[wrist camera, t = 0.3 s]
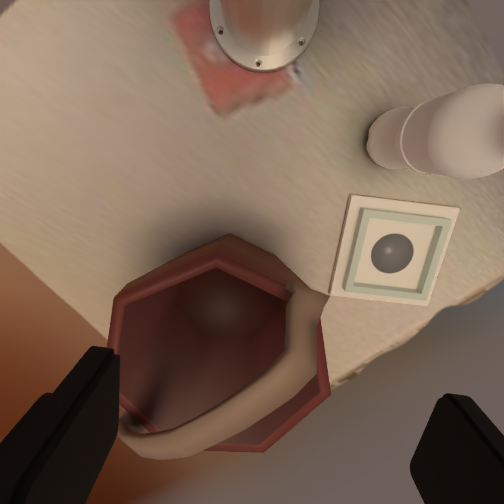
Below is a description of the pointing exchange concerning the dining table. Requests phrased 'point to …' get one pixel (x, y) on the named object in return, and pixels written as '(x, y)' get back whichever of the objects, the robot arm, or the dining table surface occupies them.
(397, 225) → the plate
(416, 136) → the water bottle
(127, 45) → the dining table surface
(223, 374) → the bucket
